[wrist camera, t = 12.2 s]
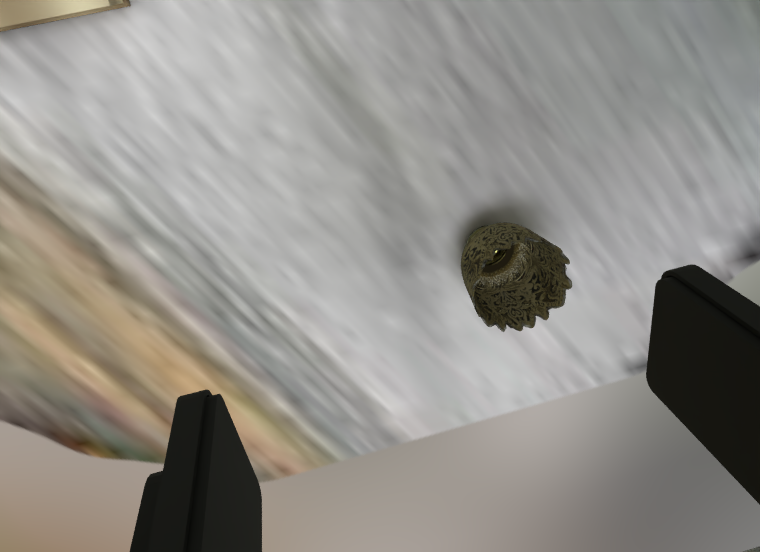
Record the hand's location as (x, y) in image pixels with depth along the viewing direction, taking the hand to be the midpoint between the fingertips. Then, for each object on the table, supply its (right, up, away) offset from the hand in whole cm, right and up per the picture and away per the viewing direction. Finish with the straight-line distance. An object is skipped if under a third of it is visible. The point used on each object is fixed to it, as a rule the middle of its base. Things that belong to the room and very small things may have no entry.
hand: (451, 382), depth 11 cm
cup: (+7, +5, +34) cm, 35 cm away
